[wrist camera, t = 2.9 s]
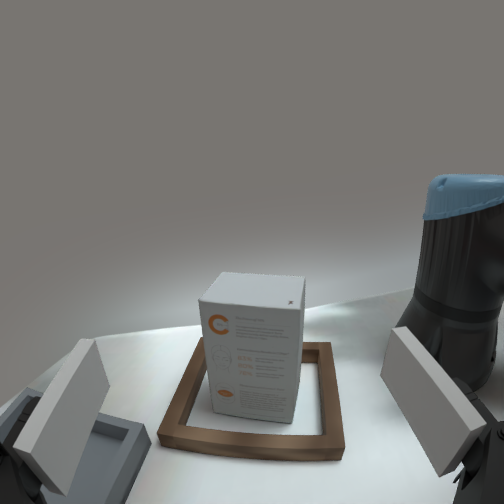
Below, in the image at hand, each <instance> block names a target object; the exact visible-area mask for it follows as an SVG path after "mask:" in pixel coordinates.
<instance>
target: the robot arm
mask: <svg viewBox="0 0 504 504" xmlns="http://www.w3.org/2000/svg"><path fill="white" fill-rule="evenodd" d="M423 219H424V228H423V236H422V244H421V252H420V259H419V266H418V271H417V277H416V283H415V289H414V293H413V297H412V299H411V301H410V303H409V304H408V306H407V308H406V310H405V311H404V313H403V315H402V316H401V318H400V320H399V322H398V323H397V325H396V326H395V328H392V330H391V334H390V339H389V343H388V347H387V351H386V355H385V359H384V363H383V367H382V371H381V374H380V376H381V377H382V379H383V381H384V382H385V384H386V386H387V387H388V389H389V391H390V392H391V394H392V396H393V397H394V399H395V401H396V402H397V404H398V406H399V408H400V409H401V411H402V413H403V414H404V416H405V418H406V420H407V421H408V423H409V425H410V426H411V428H412V430H413V432H414V433H415V435H416V437H417V439H418V440H419V442H420V444H421V446H422V448H423V449H424V451H425V453H426V455H427V457H428V458H429V460H430V462H431V464H432V466H433V468H434V469H435V471H436V473H437V475H438V477H441V476H443V475H446V474H448V473H450V472H452V471H455V469H456V468H457V467H458V465H459V464H460V463H461V462H462V463H463V465H464V466H465V467H464V468H463V469H462V470H461V472H460V473H459V474H458V476H457V477H456V478H455V480H454V482H453V483H456V482H457V481H458V479H459V478H460V480H459V483H458V487H457V491H456V494H455V498H454V501H453V504H504V421H500V422H498V421H497V420H496V419H495V418H494V416H493V415H492V414H491V413H490V411H489V410H488V409H487V408H486V407H485V405H484V404H483V403H482V402H481V400H480V399H478V397H477V396H476V394H475V393H473V392H474V391H476V390H477V389H479V388H480V387H482V386H483V385H484V384H485V382H486V381H487V379H488V377H489V375H490V373H491V371H492V368H493V366H494V363H495V358H496V345H497V332H498V317H499V314H500V310H501V307H502V304H503V301H504V176H503V175H488V174H446V175H440V176H437V177H435V178H434V179H433V180H432V181H431V182H430V184H429V187H428V193H427V200H426V208H425V213H424V214H423ZM109 388H110V385H109V382H108V379H107V376H106V373H105V370H104V367H103V364H102V361H101V358H100V355H99V351H98V348H97V345H96V341H95V340H93V339H80V340H79V342H78V343H77V345H76V346H75V347H74V349H73V350H72V352H71V353H70V355H69V356H68V358H67V359H66V361H65V362H64V364H63V365H62V367H61V368H60V370H59V371H58V373H57V374H56V376H55V377H54V379H53V380H52V382H51V383H50V385H49V386H48V388H47V390H46V391H45V393H44V394H43V396H42V397H38V396H35V397H34V398H33V399H32V400H30V401H29V402H28V403H27V404H26V406H25V407H24V409H23V410H22V414H20V415H19V417H18V418H17V421H16V422H15V423H14V425H13V426H12V428H11V430H10V431H9V433H8V435H7V437H6V438H5V440H4V442H3V443H1V442H0V504H47V502H46V500H45V497H44V495H43V493H42V492H41V490H40V488H41V486H42V484H43V485H44V486H45V487H46V488H47V489H48V490H49V492H52V493H55V494H58V495H61V496H65V497H67V494H68V491H69V488H70V486H71V483H72V480H73V477H74V474H75V472H76V469H77V466H78V464H79V461H80V458H81V456H82V453H83V450H84V448H85V445H86V443H87V440H88V438H89V435H90V433H91V430H92V428H93V425H94V423H95V420H96V418H97V416H98V413H99V411H100V408H101V406H102V404H103V401H104V399H105V397H106V394H107V392H108V390H109Z"/></svg>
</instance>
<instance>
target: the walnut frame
mask: <svg viewBox="0 0 504 504" xmlns="http://www.w3.org/2000/svg"><path fill="white" fill-rule="evenodd" d="M301 362H313V363H318V372H319V384H320V397H321V412H322V428H323V435H272V434H254V433H242V432H231V431H221V430H213V429H205V428H198V427H191V426H186V423H187V420H188V418H189V415H190V412H191V410H192V407H193V404H194V402H195V399H196V397H197V394H198V391H199V389H200V386H201V383H202V381H203V378H204V375H205V373H206V370H207V365H206V357H205V350H204V342H203V337H201V338H200V340H199V342H198V344H197V346H196V348H195V351H194V353H193V355H192V357H191V359H190V361H189V364H188V366H187V368H186V370H185V372H184V374H183V377H182V379H181V381H180V383H179V385H178V388H177V390H176V392H175V394H174V396H173V398H172V401H171V403H170V405H169V407H168V409H167V412H166V414H165V416H164V418H163V420H162V423H161V425H160V427H159V429H158V431H157V435H158V438H159V441H160V443H161V446H165V447H170V448H175V449H181V450H186V451H192V452H198V453H205V454H212V455H220V456H228V457H238V458H249V459H263V460H286V461H324V460H341V459H342V456H343V453H344V450H345V441H344V432H343V424H342V416H341V408H340V401H339V393H338V386H337V380H336V373H335V366H334V360H333V354H332V347H331V342H303V345H302V360H301Z"/></svg>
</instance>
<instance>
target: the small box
mask: <svg viewBox="0 0 504 504" xmlns="http://www.w3.org/2000/svg"><path fill="white" fill-rule="evenodd" d="M198 301H199V309H200V316H201V325H202V334H203V342H204V350H205V357H206V365H207V373H208V380H209V387H210V393H211V400H212V406H213V411H214V412H215V413H221V414H227V415H233V416H239V417H245V418H252V419H259V420H267V421H275V422H285V423H292V422H293V417H294V411H295V406H296V400H297V394H298V389H299V383H300V372H301V360H302V345H303V328H304V309H305V277H299V276H280V275H263V274H245V273H231V272H222V273H221V274H220V275H219V277H218V278H217V279H216V280H215V281H214V282H213V284H212V285H211V286H210V287H209V289H208V290H207V291H206V292H205V293H204V294H203V295H202V296H201V298H200V299H199V300H198Z"/></svg>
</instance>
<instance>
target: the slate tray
mask: <svg viewBox="0 0 504 504" xmlns="http://www.w3.org/2000/svg"><path fill="white" fill-rule="evenodd" d="M35 396H38V397H42V396H43V393H40V392H38V391H35V390H33V389H30V388H28V387H27V388H26V389H25V390H24V391H23V392H22V393H21V394H20V395H19V396H18V397H17V398H16V400H15V401H14V402H13V403H12V404H11V405H10V406H9V407H8V408H7V410H6V411H5V412H4V413H3V414H2V415H1V416H0V442H1V443H3V442H4V440H5V438H6V437H7V435H8V433H9V431H10V430H11V428H12V426H13V425H14V423H15V422H16V421H17V418H18V417H19V415H20V414H22V410H23V409H24V407H25V406H26V404H27V403H28V402H29V401H30V400H32V399H33V398H34V397H35ZM151 444H152V443H151V441H150V438H149V436H148V434H147V431H146V428H145V426H144V424H142V423H137V422H133V421H129V420H125V419H121V418H117V417H113V416H110V415H106V414H102V413H98V416H97V418H96V420H95V423H94V425H93V428H92V430H91V433H90V435H89V438H88V440H87V443H86V445H85V448H84V450H83V453H82V456H81V458H80V461H79V464H78V466H77V469H76V472H75V474H74V477H73V480H72V483H71V486H70V488H69V491H68V494H67V497H65V496H61V495H58V494H55V493H52V492H49V490H48V489H47V488H46V487H45V486H44V485H43V484H42V486H41V488H40V490H41V492H42V493H43V495H44V497H45V500H46V502H47V504H125V502H126V500H127V497H128V495H129V493H130V491H131V488H132V486H133V484H134V482H135V479H136V477H137V475H138V473H139V470H140V468H141V466H142V464H143V462H144V459H145V457H146V455H147V453H148V450H149V448H150V446H151Z"/></svg>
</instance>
